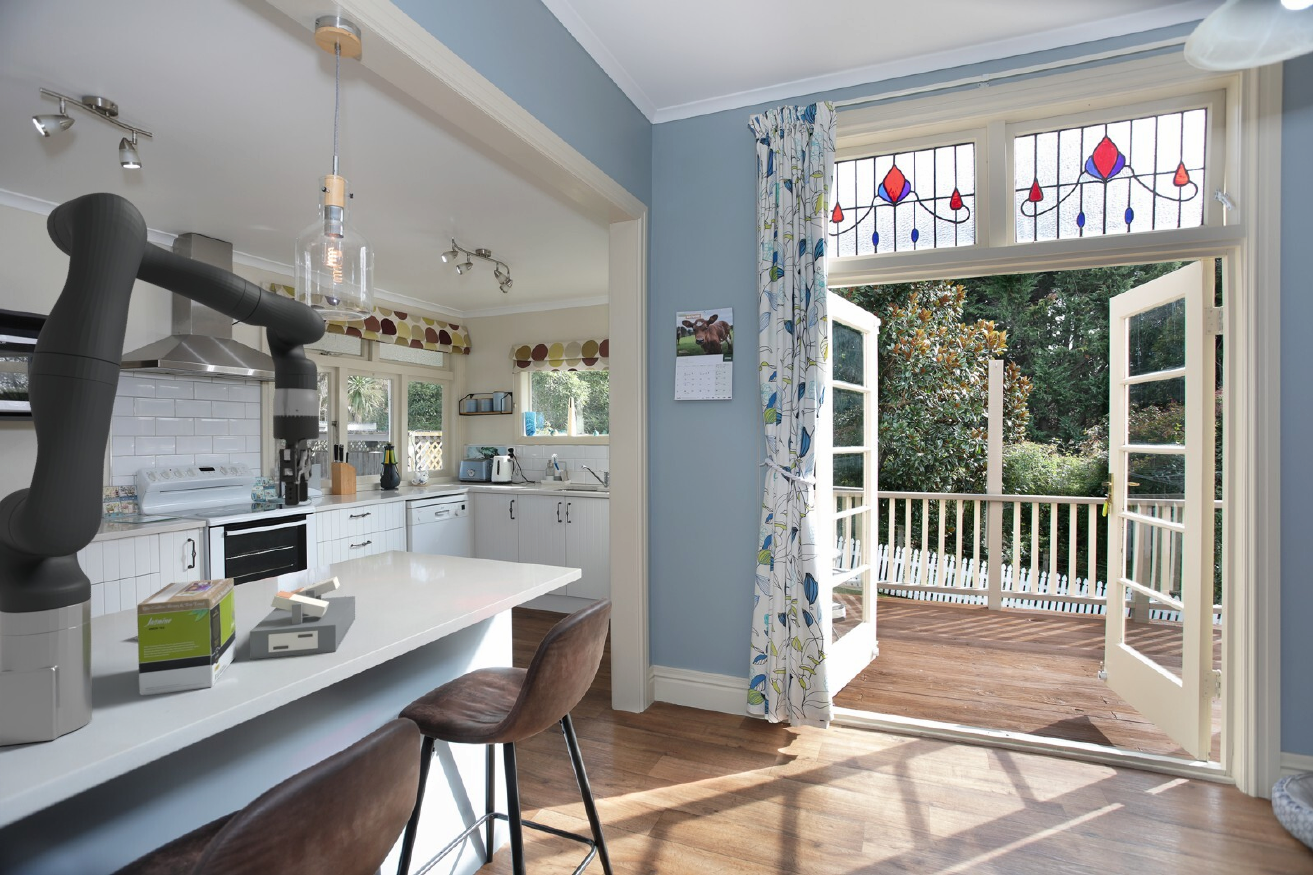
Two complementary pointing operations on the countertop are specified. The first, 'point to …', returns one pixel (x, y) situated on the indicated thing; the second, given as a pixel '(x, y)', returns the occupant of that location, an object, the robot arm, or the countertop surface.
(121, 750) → the countertop surface
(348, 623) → the console
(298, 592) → the rocker far
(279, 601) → the rocker near
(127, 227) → the robot arm
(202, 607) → the tea box
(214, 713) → the countertop surface
